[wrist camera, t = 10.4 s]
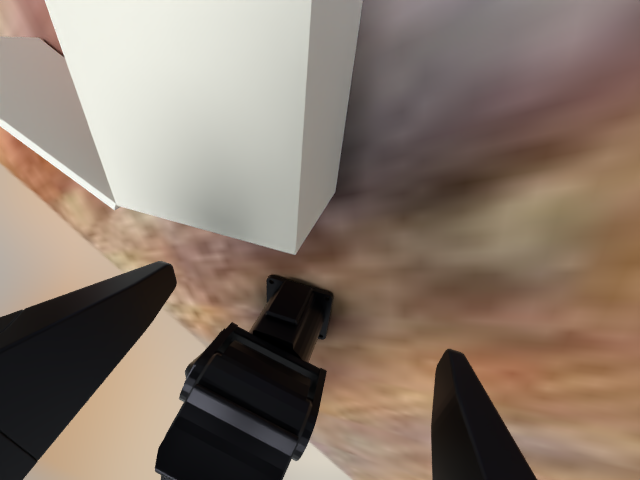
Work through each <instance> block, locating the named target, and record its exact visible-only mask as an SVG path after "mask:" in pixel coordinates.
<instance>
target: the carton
mask: <svg viewBox="0 0 640 480" xmlns="http://www.w3.org/2000/svg"><path fill="white" fill-rule="evenodd" d="M45 3H46V5H47V8H48V11H49V14H50V17H51V20H52V23H53V25H54V28H55V31H56V34H57V37H58V40H59V42H60V45H61V48H62V51H63V54H64V57H65V60H66V62H67V65H68V68H69V71H70V74H71V77H72V80H73V82H74V85H75V88H76V91H77V94H78V97H79V100H80V102H81V105H82V108H83V111H84V114H85V117H86V120H87V122H88V125H89V128H90V131H91V134H92V137H93V140H94V142H95V145H96V148H97V151H98V154H99V157H100V160H101V162H102V165H103V168H104V171H105V174H106V177H107V180H108V182H109V185H110V188H111V191H112V194H113V197H114V199H115V202H116V205H117V206H120V207H124V208H128V209H131V210H135V211H138V212H142V213H146V214H149V215H153V216H156V217H160V218H164V219H167V220H171V221H175V222H178V223H182V224H185V225H189V226H193V227H196V228H200V229H203V230H207V231H211V232H214V233H218V234H221V235H225V236H229V237H232V238H236V239H239V240H243V241H247V242H250V243H254V244H257V245H261V246H265V247H268V248H272V249H275V250H279V251H283V252H286V253H290V254H293V255H296V253H297V252H298V250H299V248H300V247H301V245H302V244H303V242H304V241H305V239H306V237H307V236H308V234H309V233H310V231H311V230H312V228H313V226H314V225H315V223H316V222H317V220H318V219H319V217H320V215H321V214H322V212H323V211H324V209H325V208H326V206H327V204H328V203H329V201H330V200H331V198H332V197H333V195H334V194H335V192H336V185H337V178H338V171H339V164H340V157H341V150H342V143H343V136H344V129H345V122H346V115H347V108H348V101H349V94H350V87H351V80H352V73H353V67H354V60H355V53H356V46H357V39H358V32H359V25H360V18H361V11H362V4H363V0H45Z"/></svg>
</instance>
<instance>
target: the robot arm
mask: <svg viewBox="0 0 640 480" xmlns="http://www.w3.org/2000/svg"><path fill="white" fill-rule="evenodd" d="M176 284H177V281H176V277H175V273H174V269H173V266H172V265H171V264H169V263H166V262H163V261H158V262H155V263H152V264H149V265H146V266H144V267H141V268H138V269H135V270H132V271H130V272H127V273H124V274H121V275H118V276H115V277H113V278H110V279H107V280H104V281H101V282H99V283H96V284H93V285H90V286H88V287H84V288H82V289H79V290H76V291H73V292H70V293H68V294H65V295H62V296H59V297H57V298H54V299H51V300H48V301H45V302H42V303H40V304H37V305H34V306H31V307H28V308H26V309H24V310H20V311H17V312H14V313H11V314H9V315H6V316H3V317H0V480H23V479H24V477H25V476H26V475H27V474H28V473H29V471H30V470H31V469H32V468H33V466H34V465H35V464H36V463H37V461H38V460H39V459H40V457H42V455H43V454H44V453H45V452H46V450H47V449H48V448H49V447H50V446H51V444H52V443H53V442H54V441H55V440H56V438H57V437H58V436H59V435H60V433H61V432H62V431H63V430H64V429H65V427H66V426H67V425H68V424H69V422H70V421H71V420H72V419H73V418H74V417H75V415H76V414H77V413H78V412H79V411H80V409H81V408H82V407H83V406H84V404H85V403H86V402H87V401H88V400H89V398H90V397H91V396H92V395H93V394H94V392H95V391H96V390H97V389H98V388H99V386H100V385H101V384H102V383H103V382H104V380H105V379H106V378H107V377H108V375H109V374H110V373H111V372H112V371H113V369H114V368H115V367H116V366H117V364H118V363H119V362H120V361H121V359H123V357H124V356H125V355H126V354H127V352H128V351H129V350H130V349H131V348H132V346H133V345H134V344H135V343H136V342H137V340H138V339H139V338H140V337H141V336H142V334H143V333H144V332H145V331H146V329H147V328H148V327H149V325H150V324H151V323H152V321H153V320H154V318H155V317H156V315H157V314H158V313H159V311H160V310H161V308H162V307H163V305H164V304H165V302H166V301H167V299H168V298H169V296H170V295H171V293H172V292H173V290H174V289H175V287H176ZM327 297H329V298H327ZM332 302H333V294H332V293H330V292H327V291H324V290H321V289H317V288H314V287H311V286H307V285H304V284H300V283H297V282H294V281H290V280H287V279H284V278H280V277H277V276H273V275H270V276H269V277H268V278H267V304H266V306H265V307H264V309H263V311H262V312H261V314H260V315H259V317H258V319H257V320H256V322H255V323H254V325H253V326H252V328H251V330H250V331H249V332H248V331H246V330H244V329H242V328H240V327H238V325H236V324H235V323H233V322H232V323H231V324H230V325H229V326H228V327H227V328H226V329H223V331H221V332H220V333H219V335H218V336H217V337H216V339H215V340H214V341H213V342H212V343H211V344H210V345H209V346H208V348H207V349H206V350H205V351H204V352H203V353H202V354H201V355H200V356H198V357H197V358H196V359H195V360H194V361H193V362H191V363H190V364H189V365H188V367H187V368H186V370H185V375H186V381H185V383H184V386H183V388H182V391H181V393H180V397H179V399H180V400H182V401H183V402H184V404H183V405H182V407H181V409H180V411H179V412H178V414H177V416H176V418H175V419H174V421H173V423H172V425H171V426H170V428H169V430H168V432H167V434H166V436H165V438H164V440H163V441H162V443H161V445H160V446H159V449H158V454H157V459H156V465H155V471H156V472H157V473H158V474H160V475H161V480H282V479H283V477H284V475H285V472H286V470H287V468H288V466H289V463H290V461H291V459H293V460H295V461H297V460H299V459H300V457H301V456H302V454H303V452H304V450H305V448H306V446H307V444H308V442H309V440H310V437H311V434H312V432H313V429H314V426H315V423H316V420H317V416H318V412H319V407H320V402H321V397H322V392H323V387H324V382H325V377H326V372H327V371H326V370H324V369H322V368H318V367H316V366H314V365H312V364H310V363H308V362H309V360H310V357H311V354H312V352H313V349H314V347H315V344H316V341H317V339H325V338H326V335H327V330H328V324H329V319H330V313H331V308H332ZM431 443H432V476H433V480H537V479H536V477H535V475H534V473H533V472H532V470H531V468H530V467H529V465H528V463H527V461H526V460H525V458H524V456H523V455H522V453H521V451H520V449H519V448H518V446H517V444H516V443H515V441H514V439H513V437H512V436H511V434H510V432H509V431H508V429H507V427H506V425H505V424H504V422H503V420H502V419H501V417H500V415H499V413H498V412H497V410H496V408H495V407H494V405H493V403H492V401H491V400H490V398H489V396H488V395H487V393H486V391H485V389H484V388H483V386H482V384H481V382H480V381H479V379H478V377H477V376H476V374H475V372H474V370H473V369H472V367H471V365H470V364H469V362H468V360H467V358H466V357H465V355H464V354H463V353H461V352H459V351H455V350H452V349H447V350H446V351H445V353H444V354H443V356H442V358H441V359H440V361H439V363H438V365H437V368H436V373H435V385H434V397H433V410H432V423H431Z"/></svg>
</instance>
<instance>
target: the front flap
mask: <svg viewBox="0 0 640 480" xmlns="http://www.w3.org/2000/svg"><path fill="white" fill-rule="evenodd" d="M0 126H1V127H2V128H3V129H5V130H6V131H8V132H9V133H10V134H12V135H13V136H14V137H16V138H17V139H18V140H20V141H21V142H22V143H24V144H25V145H27V146H28V147H29V148H31V149H32V150H33V151H35V152H36V153H37V154H39V155H40V156H42V157H43V158H44V159H46V160H47V161H48V162H50V163H51V164H52V165H54V166H55V167H56V168H58V169H59V170H61V171H62V172H63V173H65V174H66V175H67V176H69V177H70V178H71V179H73V180H74V181H76V182H77V183H78V184H80V185H81V186H82V187H84V188H85V189H86V190H88V191H89V192H91V193H92V194H93V195H95V196H96V197H97V198H99V199H100V200H101V201H103V202H104V203H105V204H107V205H108V206H110V207H111V208H112V209H114V210H116V209H117V208H119V207H120V206H117V205H116V202H115V199H114V197H113V194H112V191H111V188H110V185H109V182H108V180H107V177H106V174H105V171H104V168H103V165H102V162H101V160H100V157H99V154H98V151H97V148H96V145H95V142H94V140H93V137H92V134H91V131H90V128H89V125H88V122H87V120H86V117H85V114H84V111H83V108H82V105H81V102H80V100H79V97H78V94H77V91H76V88H75V85H74V82H73V80H72V77H71V74H70V71H69V68H68V65H67V62H66V60H65V58H64V57H63V56H61V55H60V54H59V53H58V52H56V51H55V50H54V49H53V48H51V47H50V46H49V45H48V44H46V43H45V42H44V41H43V40H41V39H40V38H33V37H0Z"/></svg>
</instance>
